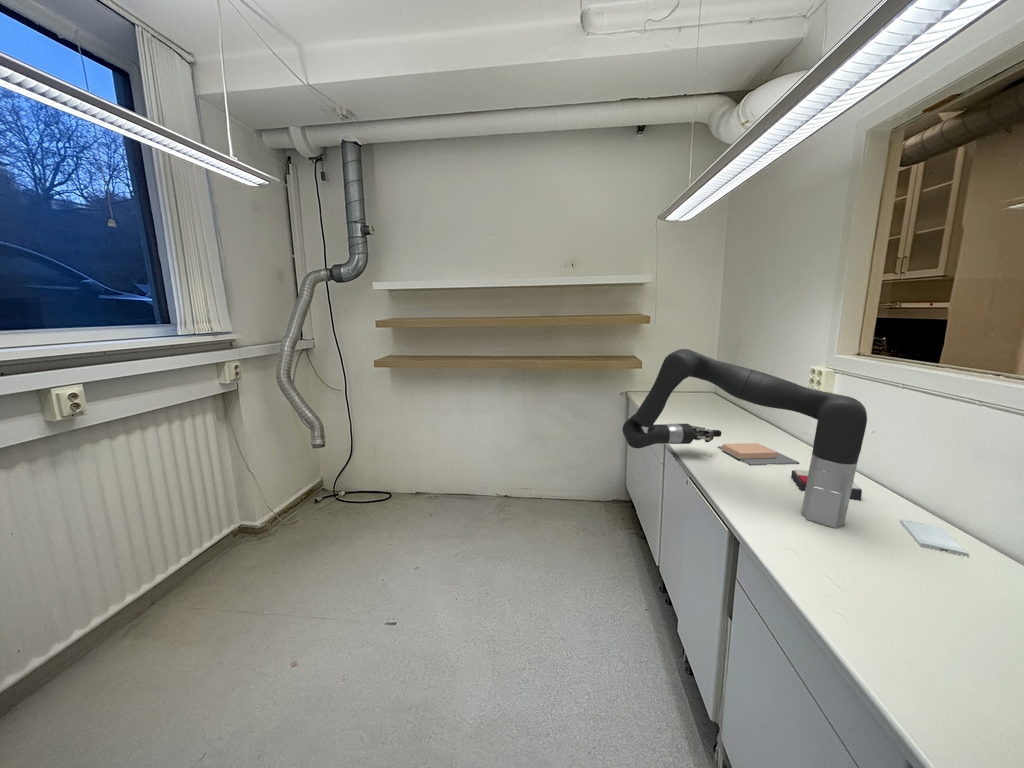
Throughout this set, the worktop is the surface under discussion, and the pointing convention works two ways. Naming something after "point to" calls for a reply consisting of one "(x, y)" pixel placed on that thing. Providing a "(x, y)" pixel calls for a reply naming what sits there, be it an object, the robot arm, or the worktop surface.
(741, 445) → the tile
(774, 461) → the mat
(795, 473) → the calculator
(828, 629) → the worktop surface
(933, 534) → the hard drive
